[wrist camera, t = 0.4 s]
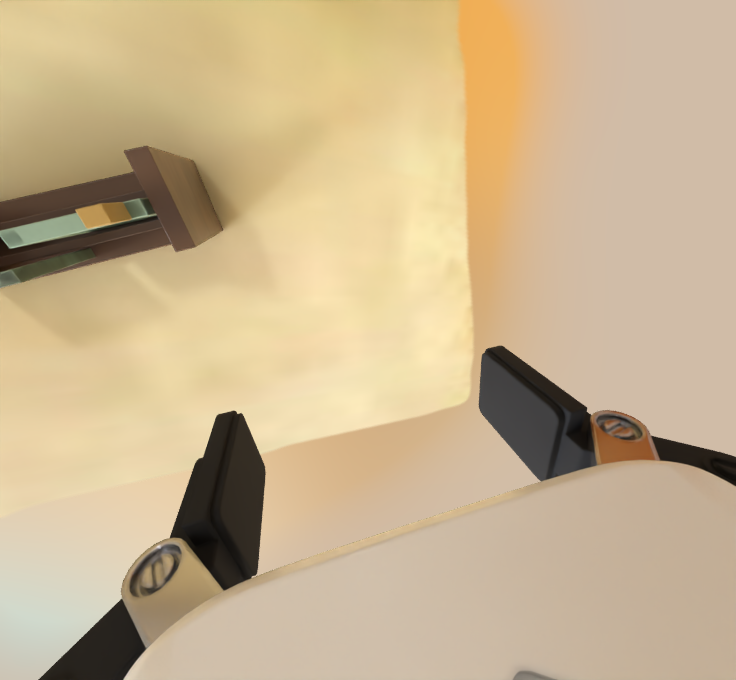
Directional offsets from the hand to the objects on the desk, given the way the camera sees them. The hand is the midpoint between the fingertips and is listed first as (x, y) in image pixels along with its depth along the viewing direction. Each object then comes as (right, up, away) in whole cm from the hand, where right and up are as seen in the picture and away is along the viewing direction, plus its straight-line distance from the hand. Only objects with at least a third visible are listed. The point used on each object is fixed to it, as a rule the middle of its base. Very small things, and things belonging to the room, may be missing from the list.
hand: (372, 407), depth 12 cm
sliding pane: (-23, +15, +19) cm, 34 cm away
